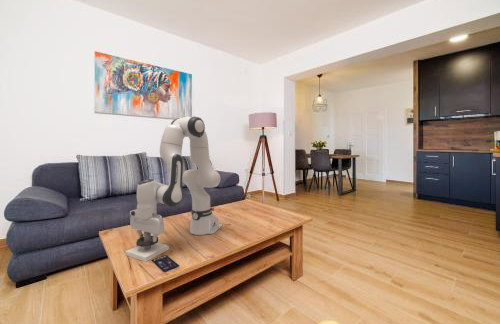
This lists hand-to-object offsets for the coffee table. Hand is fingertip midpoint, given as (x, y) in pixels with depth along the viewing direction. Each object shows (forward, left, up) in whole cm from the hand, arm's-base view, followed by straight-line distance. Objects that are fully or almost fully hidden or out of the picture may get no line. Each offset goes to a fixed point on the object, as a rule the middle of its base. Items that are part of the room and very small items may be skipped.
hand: (147, 239), depth 110 cm
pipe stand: (0, 0, -6) cm, 7 cm away
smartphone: (+4, +16, -7) cm, 18 cm away
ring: (0, 0, -1) cm, 1 cm away
